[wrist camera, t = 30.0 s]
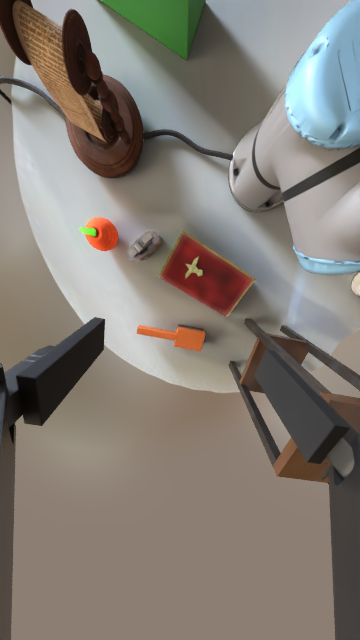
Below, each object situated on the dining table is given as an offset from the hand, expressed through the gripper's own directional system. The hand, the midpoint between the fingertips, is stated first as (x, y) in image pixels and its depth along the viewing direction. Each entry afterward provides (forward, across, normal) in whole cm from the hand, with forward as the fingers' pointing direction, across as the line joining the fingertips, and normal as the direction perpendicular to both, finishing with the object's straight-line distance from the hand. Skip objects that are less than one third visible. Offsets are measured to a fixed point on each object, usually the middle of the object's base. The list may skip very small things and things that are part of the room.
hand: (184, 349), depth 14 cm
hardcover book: (+35, +6, +3) cm, 35 cm away
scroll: (+35, -21, +26) cm, 48 cm away
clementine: (+35, -21, +8) cm, 41 cm away
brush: (+35, 0, -15) cm, 38 cm away
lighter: (+35, -10, +7) cm, 37 cm away
